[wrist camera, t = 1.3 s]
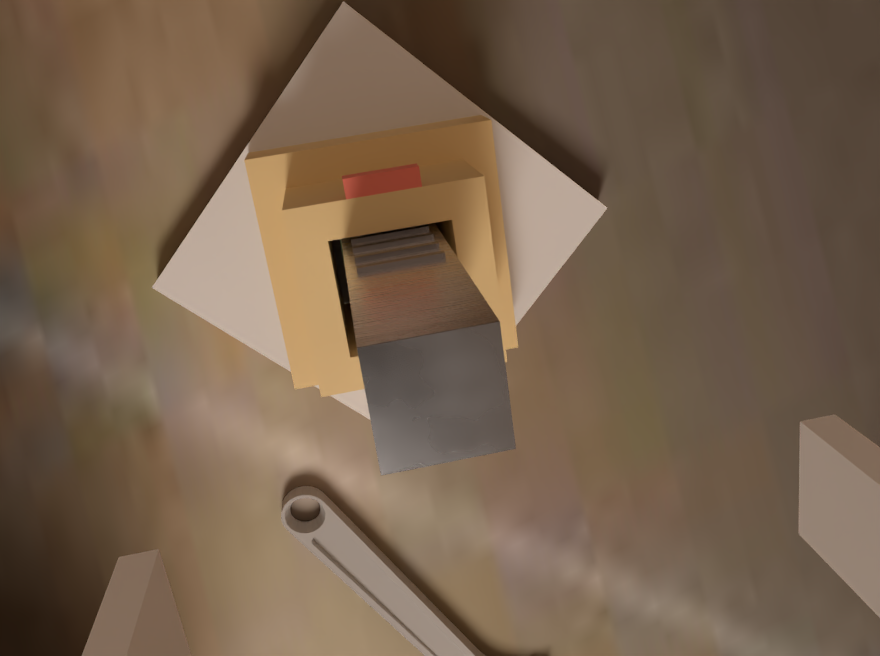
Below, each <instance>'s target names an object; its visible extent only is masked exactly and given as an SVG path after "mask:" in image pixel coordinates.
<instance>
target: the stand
mask: <svg viewBox="0 0 880 656" xmlns="http://www.w3.org/2000/svg"><path fill="white" fill-rule="evenodd" d="M606 209H607V207H606V206H604V205H603V204H602V203H600V202H599V201H598V200H597V199H595V198H594V197H593V196H592V195H590V194H589V193H588V192H586V191H585V190H584V189H583V188H581V187H580V186H579V185H577V184H576V183H575V182H574V181H572V180H571V179H570V178H569V177H567V176H566V175H565V174H563V173H562V172H561V171H560V170H558V169H557V168H556V167H554V166H553V165H552V164H551V163H549V162H548V161H547V160H546V159H544V158H543V157H542V156H540V155H539V154H538V153H537V152H535V151H534V150H533V149H532V148H530V147H529V146H528V145H526V144H525V143H524V142H523V141H521V140H520V139H519V138H517V137H516V136H515V135H514V134H512V133H511V132H510V131H509V130H507V129H506V128H505V127H503V126H502V125H501V124H500V123H498V122H497V121H496V120H494V119H493V118H492V117H491V116H489V115H488V114H487V113H486V112H484V111H483V110H482V109H480V108H479V107H478V106H477V105H475V104H474V103H473V102H471V101H470V100H469V99H468V98H466V97H465V96H464V95H463V94H461V93H460V92H459V91H457V90H456V89H455V88H454V87H452V86H451V85H450V84H448V83H447V82H446V81H445V80H443V79H442V78H441V77H440V76H438V75H437V74H436V73H434V72H433V71H432V70H431V69H429V68H428V67H427V66H425V65H424V64H423V63H422V62H420V61H419V60H418V59H417V58H415V57H414V56H413V55H411V54H410V53H409V52H408V51H406V50H405V49H404V48H402V47H401V46H400V45H399V44H397V43H396V42H395V41H394V40H392V39H391V38H390V37H388V36H387V35H386V34H385V33H383V32H382V31H381V30H379V29H378V28H377V27H376V26H374V25H373V24H372V23H371V22H369V21H368V20H367V19H365V18H364V17H363V16H362V15H360V14H359V13H358V12H356V11H355V10H354V9H353V8H351V7H350V6H349V5H348V4H346V3H345V2H344V1H343V2H342V4H341V5H340V7H339V8H338V10H337V11H336V13H335V14H334V16H333V17H332V19H331V20H330V22H329V23H328V25H327V26H326V28H325V29H324V31H323V32H322V34H321V35H320V37H319V38H318V40H317V41H316V43H315V44H314V46H313V47H312V49H311V50H310V52H309V53H308V55H307V56H306V58H305V59H304V61H303V62H302V64H301V65H300V67H299V68H298V70H297V71H296V73H295V74H294V76H293V77H292V79H291V80H290V82H289V83H288V85H287V86H286V88H285V89H284V91H283V92H282V94H281V95H280V97H279V98H278V100H277V101H276V103H275V104H274V105H273V107H272V108H271V110H270V111H269V113H268V114H267V116H266V117H265V119H264V120H263V122H262V123H261V125H260V126H259V128H258V129H257V131H256V132H255V134H254V135H253V137H252V138H251V140H250V141H249V143H248V144H247V146H246V147H245V149H244V150H243V152H242V153H241V155H240V156H239V158H238V159H237V161H236V162H235V164H234V165H233V167H232V168H231V170H230V171H229V173H228V174H227V176H226V177H225V179H224V180H223V182H222V183H221V185H220V186H219V188H218V189H217V191H216V192H215V194H214V195H213V197H212V198H211V200H210V201H209V203H208V204H207V206H206V207H205V209H204V210H203V212H202V213H201V215H200V216H199V218H198V219H197V221H196V222H195V224H194V225H193V227H192V228H191V230H190V231H189V233H188V234H187V236H186V237H185V239H184V240H183V242H182V243H181V244H180V246H179V247H178V249H177V250H176V252H175V253H174V255H173V256H172V258H171V259H170V261H169V262H168V264H167V265H166V267H165V268H164V270H163V271H162V273H161V274H160V276H159V277H158V279H157V280H156V282H155V284H154V285H153V287H152V288H153V289H155V290H157V291H158V292H160V293H162V294H163V295H165V296H167V297H168V298H170V299H171V300H173V301H175V302H176V303H178V304H180V305H181V306H183V307H185V308H186V309H188V310H190V311H191V312H193V313H195V314H196V315H198V316H200V317H201V318H203V319H205V320H206V321H208V322H209V323H211V324H213V325H214V326H216V327H218V328H219V329H221V330H223V331H224V332H226V333H228V334H229V335H231V336H233V337H234V338H236V339H238V340H239V341H241V342H243V343H244V344H246V345H247V346H249V347H251V348H252V349H254V350H256V351H257V352H259V353H261V354H262V355H264V356H266V357H267V358H269V359H271V360H272V361H274V362H276V363H277V364H279V365H280V366H282V367H284V368H285V369H287V370H289V371H290V372H291V374H292V378H293V383H294V387H295V389H299V388H305V387H310V386H315V387H317V388H318V389H320V393H321V397H325V396H332V397H333V398H335V399H337V400H338V401H340V402H342V403H343V404H345V405H347V406H348V407H350V408H352V409H353V410H355V411H356V412H358V413H360V414H361V415H363V416H365V417H366V418H368V419H370V414H369V409H368V404H367V399H366V393H365V388H364V383H363V378H362V372H361V367H360V362H359V357H358V351H357V345H356V339H355V332H354V325H353V318H352V311H351V304H350V298H349V291H348V284H347V277H346V271H345V266H344V260H343V255H342V250H341V245H340V239H343V238H349V237H355V236H361V235H366V234H372V233H378V232H384V231H389V230H395V229H401V228H407V227H412V226H418V225H424V224H430V223H435V225H436V226H437V228H438V229H439V231H440V232H441V234H442V235H443V237H444V238H445V240H446V241H447V243H448V244H449V246H450V247H451V249H452V250H453V252H454V253H455V255H456V256H457V258H458V259H459V261H460V262H461V264H462V265H463V267H464V268H465V270H466V271H467V273H468V274H469V276H470V277H471V279H472V280H473V282H474V283H475V285H476V286H477V288H478V289H479V291H480V292H481V294H482V295H483V297H484V298H485V300H486V301H487V303H488V304H489V306H490V307H491V309H492V310H493V312H494V313H495V315H496V316H497V318H498V319H499V321H500V327H501V335H502V343H503V351H504V359H505V362H507V355H506V349H512V348H517V347H518V341H517V333H516V325H517V324H518V322H519V321H520V320H521V319H522V317H523V316H524V315H525V313H526V312H527V311H528V309H529V308H530V307H531V306H532V304H533V303H534V302H535V300H536V299H537V298H538V297H539V295H540V294H541V293H542V291H543V290H544V289H545V288H546V286H547V285H548V284H549V282H550V281H551V280H552V279H553V277H554V276H555V275H556V273H557V272H558V271H559V270H560V268H561V267H562V266H563V264H564V263H565V262H566V261H567V259H568V258H569V257H570V255H571V254H572V253H573V252H574V250H575V249H576V248H577V246H578V245H579V244H580V243H581V241H582V240H583V239H584V237H585V236H586V235H587V234H588V232H589V231H590V230H591V228H592V227H593V226H594V224H595V223H596V222H597V221H598V219H599V218H600V217H601V215H602V214H603V213H604V212H605V210H606Z"/></svg>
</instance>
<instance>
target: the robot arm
mask: <svg viewBox="0 0 880 656" xmlns="http://www.w3.org/2000/svg"><path fill="white" fill-rule="evenodd" d="M799 535H800V536H801V537H802V538H803V539H804V540H805V541H806V542H807V543H808V544H809V545H810V546H811V547H812V548H813V549H814V550H815V551H816V552H817V553H818V554H819V555H820V556H821V557H822V558H823V559H824V561H825V562H826V563H827V564H828V565H829V566H830V567H831V568H832V569H833V570H834V571H835V572H836V573H837V574H838V575H839V576H840V577H841V578H842V579H843V580H844V581H845V582H846V583H847V584H848V585H849V586H850V587H851V588H852V590H853V591H854V592H855V593H856V594H857V595H858V596H859V597H860V598H861V599H862V600H863V601H864V602H865V603H866V604H867V605H868V606H869V607H870V608H871V609H872V610H873V611H874V612H875V613H876V614H877V615H878V616H879V617H880V447H879V446H877V445H876V444H874V443H873V442H872V441H870V440H869V439H868V438H866V437H865V436H864V435H862V434H861V433H859V432H858V431H857V430H855V429H854V428H853V427H851V426H850V425H849V424H847V423H846V422H844V421H843V420H842V419H840V418H839V417H838V416H836V415H835V414H834V415H829V416H824V417H819V418H814V419H809V420H804V421H800V459H799ZM82 656H191V652H190V649H189V646H188V643H187V639H186V636H185V633H184V630H183V626H182V623H181V620H180V617H179V613H178V610H177V607H176V604H175V600H174V597H173V594H172V590H171V587H170V584H169V581H168V577H167V574H166V571H165V568H164V564H163V561H162V558H161V555H160V551H159V549H156V550H151V551H146V552H141V553H136V554H131V555H126V556H121V557H119V558H118V560H117V563H116V566H115V568H114V571H113V574H112V576H111V579H110V582H109V584H108V587H107V590H106V592H105V595H104V598H103V600H102V603H101V606H100V608H99V611H98V614H97V616H96V619H95V622H94V624H93V627H92V630H91V632H90V635H89V638H88V640H87V643H86V645H85V648H84V651H83V653H82Z"/></svg>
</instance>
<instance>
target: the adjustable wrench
mask: <svg viewBox="0 0 880 656" xmlns="http://www.w3.org/2000/svg"><path fill="white" fill-rule="evenodd" d="M302 498H310V499H313V500H316V501H318V503H319V504H320V513H319V515H318V516H317V517H316V518H315V519H313V520H310V521H300V520H297V519H295V518H294V517H293V516H292V515H291V511H290V508H291V505H292V503H293V502H294V501H296V500H298V499H302ZM281 519H282V523H283V525H284V527H285V528H286V529H287V530H288V531H289V532H290V533H291V534H292V535H293V536H294V537H295V538H296V539H298V540H299V541H300V542H301V543H302V544H303V545H304V546H305V547H306V548H307V549H309V550H310V551H311V552H312V553H313V554H314V555H315V556H316V557H317V558H318V559H319V560H321V561H322V562H323V563H324V564H325V565H326V566H327V567H328V568H329V569H330V570H332V571H333V572H334V573H335V574H336V575H337V576H338V577H339V578H340V579H341V580H342V581H344V582H345V583H346V584H347V585H348V586H349V587H350V588H351V589H352V590H353V591H355V592H356V593H357V594H358V595H359V596H360V597H361V598H362V599H363V600H364V601H365V602H367V603H368V604H369V605H370V606H371V607H372V608H373V609H374V610H375V611H376V612H378V613H379V614H380V615H381V616H382V617H383V618H384V619H385V620H386V621H387V622H388V623H390V624H391V625H392V626H393V627H394V628H395V629H396V630H397V631H398V632H399V633H401V634H402V635H403V636H404V637H405V638H406V639H407V640H408V641H409V642H410V643H411V644H413V645H414V646H415V647H416V648H417V649H418V650H419V651H420V652H421V653H422V654H424V655H425V656H486V655H484V654H483V653H482V652H480V651H479V650H478V649H477V648H476V647H475V646H474V645H473V644H472V643H471V642H470V641H469V640H468V639H467V638H466V637H465V636H464V635H463V634H462V632H461V631H460V630H459V629H458V628H457V627H456V626H455V625H454V624H453V623H452V622H451V621H450V620H449V619H448V618H447V617H446V616H445V615H444V614H443V613H442V612H441V611H440V610H439V609H438V608H437V607H436V606H435V605H434V604H433V603H432V602H431V601H430V600H429V599H428V598H427V597H426V596H425V595H424V594H423V593H422V592H421V591H420V590H419V589H418V588H417V587H416V586H415V585H414V584H413V583H412V582H411V581H410V580H409V579H408V578H407V577H406V576H405V575H404V574H403V573H402V572H401V571H400V570H399V569H398V568H397V567H396V566H395V565H394V564H393V563H392V562H391V561H390V559H389V558H388V557H387V556H386V555H385V554H384V553H383V552H382V551H381V550H380V549H379V548H378V547H377V546H376V545H375V544H374V543H373V542H372V541H371V540H370V539H369V538H368V537H367V536H366V535H365V534H364V533H363V532H362V531H361V530H360V529H359V528H358V527H357V526H356V525H355V524H354V523H353V522H352V521H351V520H350V519H349V518H348V517H347V516H346V515H345V514H344V513H343V512H342V511H341V510H340V509H339V508H338V507H337V506H336V505H335V504H334V503H333V502H332V501H331V500H330V499H329V498H328V497H327V496H326V495H325V494H324V493H323V492H322V491H321V490H319V489H318V488H315V487H312V486H301V487H297V488H295V489H293V490H291V491H290V492H289V493H288V494H287V495H286V496H285V498H284V500H283V502H282V513H281Z"/></svg>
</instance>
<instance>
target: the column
mask: <svg viewBox="0 0 880 656" xmlns="http://www.w3.org/2000/svg"><path fill="white" fill-rule="evenodd" d="M340 245H341V250H342V255H343V260H344V266H345V271H346V277H347V284H348V291H349V298H350V304H351V311H352V318H353V325H354V332H355V339H356V345H357V351H358V357H359V362H360V367H361V372H362V378H363V383H364V388H365V393H366V399H367V404H368V409H369V414H370V420H371V425H372V430H373V435H374V441H375V446H376V451H377V456H378V462H379V467H380V472H381V475H386V474H391V473H396V472H401V471H406V470H411V469H416V468H421V467H426V466H431V465H436V464H441V463H446V462H451V461H456V460H461V459H466V458H471V457H476V456H481V455H487V454H492V453H497V452H502V451H507V450H512V449H516V447H515V439H514V431H513V423H512V415H511V407H510V399H509V391H508V383H507V375H506V367H505V359H504V351H503V343H502V335H501V327H500V321H499V319H498V318H497V316H496V315H495V313H494V312H493V310H492V309H491V307H490V306H489V304H488V303H487V301H486V300H485V298H484V297H483V295H482V294H481V292H480V291H479V289H478V288H477V286H476V285H475V283H474V282H473V280H472V279H471V277H470V276H469V274H468V273H467V271H466V270H465V268H464V267H463V265H462V264H461V262H460V261H459V259H458V258H457V256H456V255H455V253H454V252H453V250H452V249H451V247H450V246H449V244H448V243H447V241H446V240H445V238H444V237H443V235H442V234H441V232H440V231H439V229H438V228H437V226H436V225H435V223H430V224H424V225H418V226H412V227H407V228H401V229H395V230H389V231H384V232H378V233H372V234H366V235H361V236H355V237H349V238H343V239H340Z"/></svg>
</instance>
